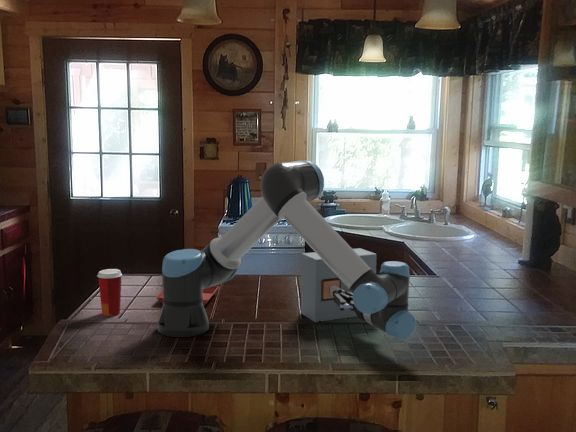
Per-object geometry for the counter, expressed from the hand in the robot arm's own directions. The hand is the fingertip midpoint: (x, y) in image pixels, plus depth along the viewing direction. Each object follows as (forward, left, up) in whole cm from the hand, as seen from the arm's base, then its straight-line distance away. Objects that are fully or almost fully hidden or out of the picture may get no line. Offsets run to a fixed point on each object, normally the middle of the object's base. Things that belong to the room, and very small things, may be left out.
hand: (332, 290), depth 197 cm
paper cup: (-7, +71, -10) cm, 72 cm away
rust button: (+2, +2, -3) cm, 4 cm away
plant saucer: (+14, +52, -11) cm, 55 cm away
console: (+8, -1, -10) cm, 13 cm away
